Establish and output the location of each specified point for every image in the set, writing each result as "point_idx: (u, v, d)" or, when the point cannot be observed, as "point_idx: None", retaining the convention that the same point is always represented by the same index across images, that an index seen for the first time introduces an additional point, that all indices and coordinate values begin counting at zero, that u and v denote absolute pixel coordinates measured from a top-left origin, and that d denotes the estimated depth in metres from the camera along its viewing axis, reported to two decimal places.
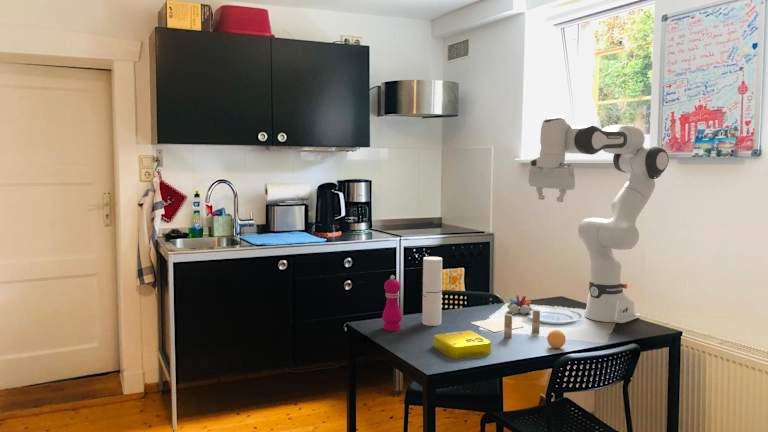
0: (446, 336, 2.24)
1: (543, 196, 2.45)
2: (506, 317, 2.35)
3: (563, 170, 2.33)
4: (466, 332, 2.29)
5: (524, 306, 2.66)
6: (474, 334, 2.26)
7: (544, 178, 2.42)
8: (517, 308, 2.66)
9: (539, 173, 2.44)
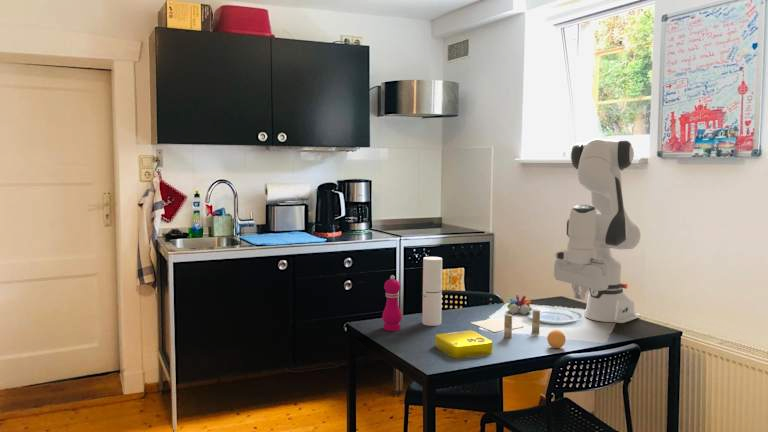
0: (447, 336, 2.24)
1: None
2: (506, 317, 2.35)
3: (595, 269, 2.06)
4: (467, 332, 2.29)
5: (524, 306, 2.66)
6: (475, 334, 2.27)
7: (572, 273, 2.14)
8: (517, 308, 2.67)
9: (566, 267, 2.17)
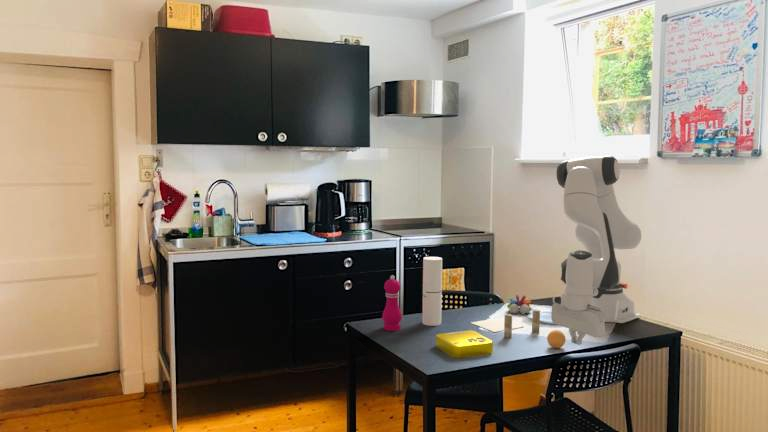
0: (448, 336, 2.24)
1: None
2: (506, 317, 2.35)
3: (592, 315, 2.07)
4: (468, 332, 2.29)
5: (524, 306, 2.67)
6: (476, 334, 2.27)
7: (569, 318, 2.16)
8: (517, 308, 2.67)
9: (563, 311, 2.18)
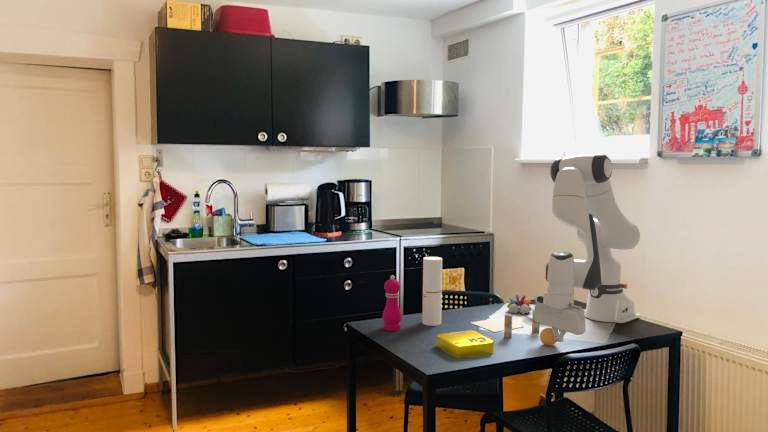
0: (449, 336, 2.24)
1: None
2: (506, 317, 2.35)
3: (573, 314, 2.15)
4: (468, 332, 2.29)
5: (524, 306, 2.67)
6: (477, 334, 2.27)
7: (551, 317, 2.24)
8: (517, 308, 2.67)
9: (546, 310, 2.26)
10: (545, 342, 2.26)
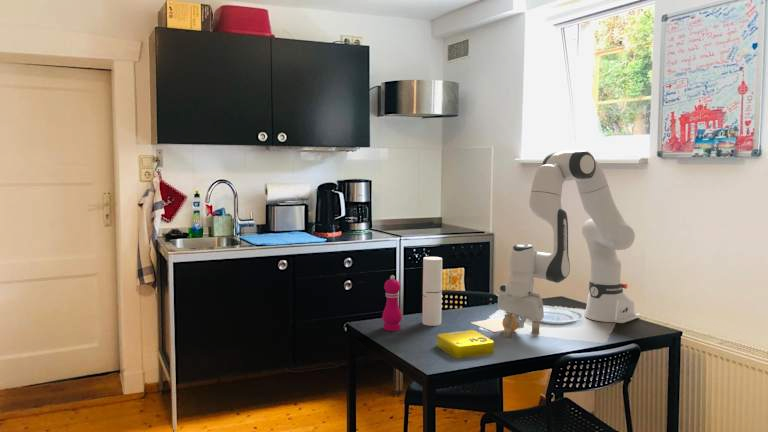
0: (449, 336, 2.24)
1: None
2: (506, 317, 2.35)
3: (532, 301, 2.31)
4: (469, 331, 2.29)
5: None
6: (477, 334, 2.27)
7: (513, 304, 2.40)
8: None
9: (508, 298, 2.42)
10: (502, 322, 2.44)
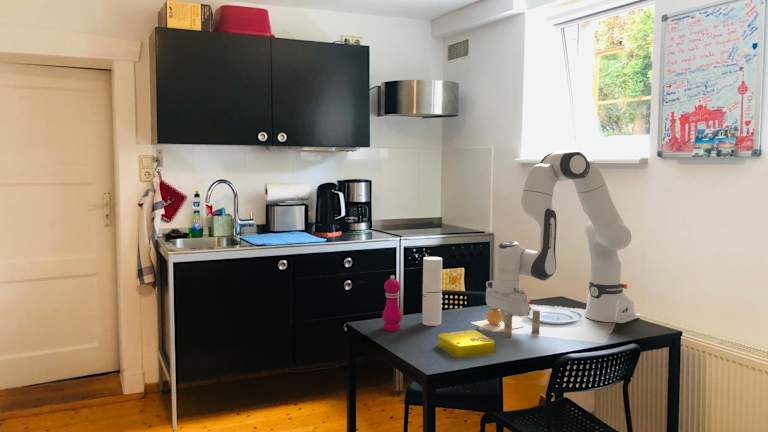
0: (450, 335, 2.25)
1: None
2: (506, 317, 2.35)
3: (517, 297, 2.38)
4: (470, 331, 2.29)
5: None
6: (478, 333, 2.27)
7: (499, 300, 2.47)
8: None
9: (495, 294, 2.49)
10: (490, 319, 2.50)
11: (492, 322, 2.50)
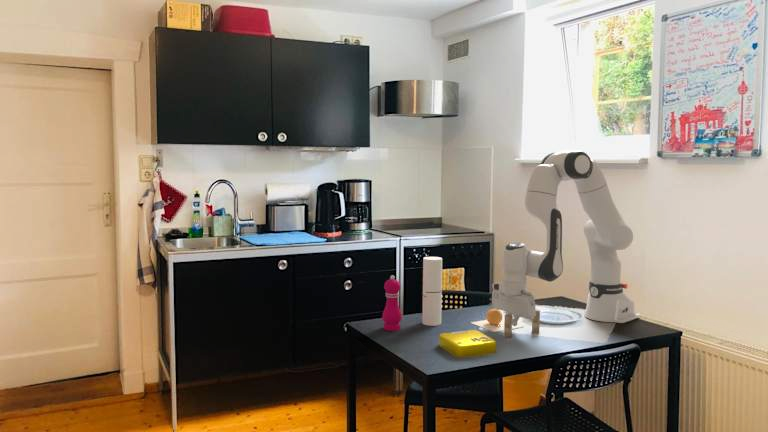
0: (451, 335, 2.25)
1: None
2: (506, 317, 2.35)
3: (524, 300, 2.35)
4: (471, 331, 2.30)
5: None
6: (479, 333, 2.27)
7: (506, 302, 2.43)
8: None
9: (501, 296, 2.46)
10: (490, 319, 2.50)
11: (492, 322, 2.50)
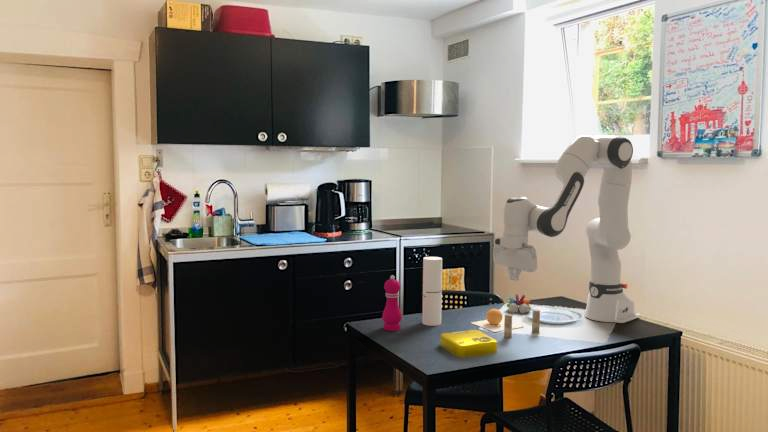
0: (452, 335, 2.25)
1: None
2: (506, 317, 2.35)
3: (525, 252, 2.33)
4: (472, 331, 2.30)
5: (523, 305, 2.68)
6: (480, 333, 2.27)
7: (507, 257, 2.41)
8: (516, 307, 2.68)
9: (503, 251, 2.44)
10: (490, 319, 2.50)
11: (492, 322, 2.50)
